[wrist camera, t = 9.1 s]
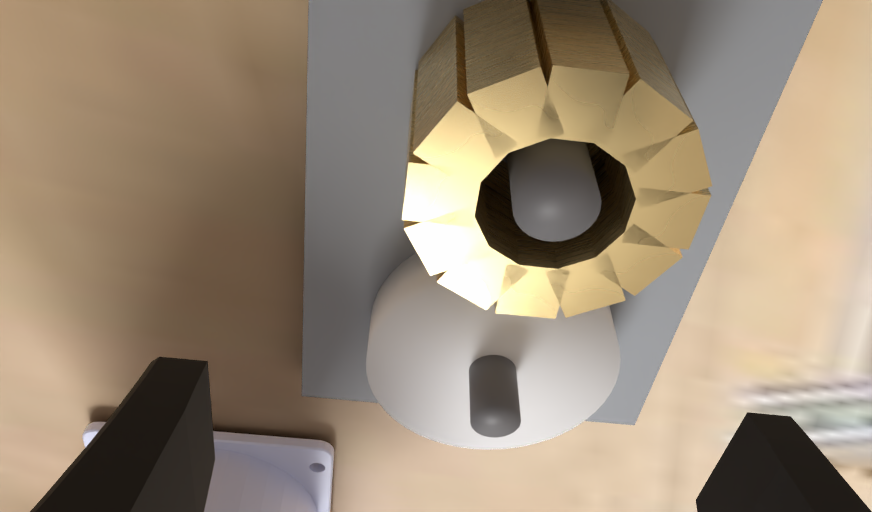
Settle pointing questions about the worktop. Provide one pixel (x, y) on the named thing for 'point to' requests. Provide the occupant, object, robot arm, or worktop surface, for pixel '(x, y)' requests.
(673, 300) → the gear board
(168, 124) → the worktop surface
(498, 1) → the brass gear
